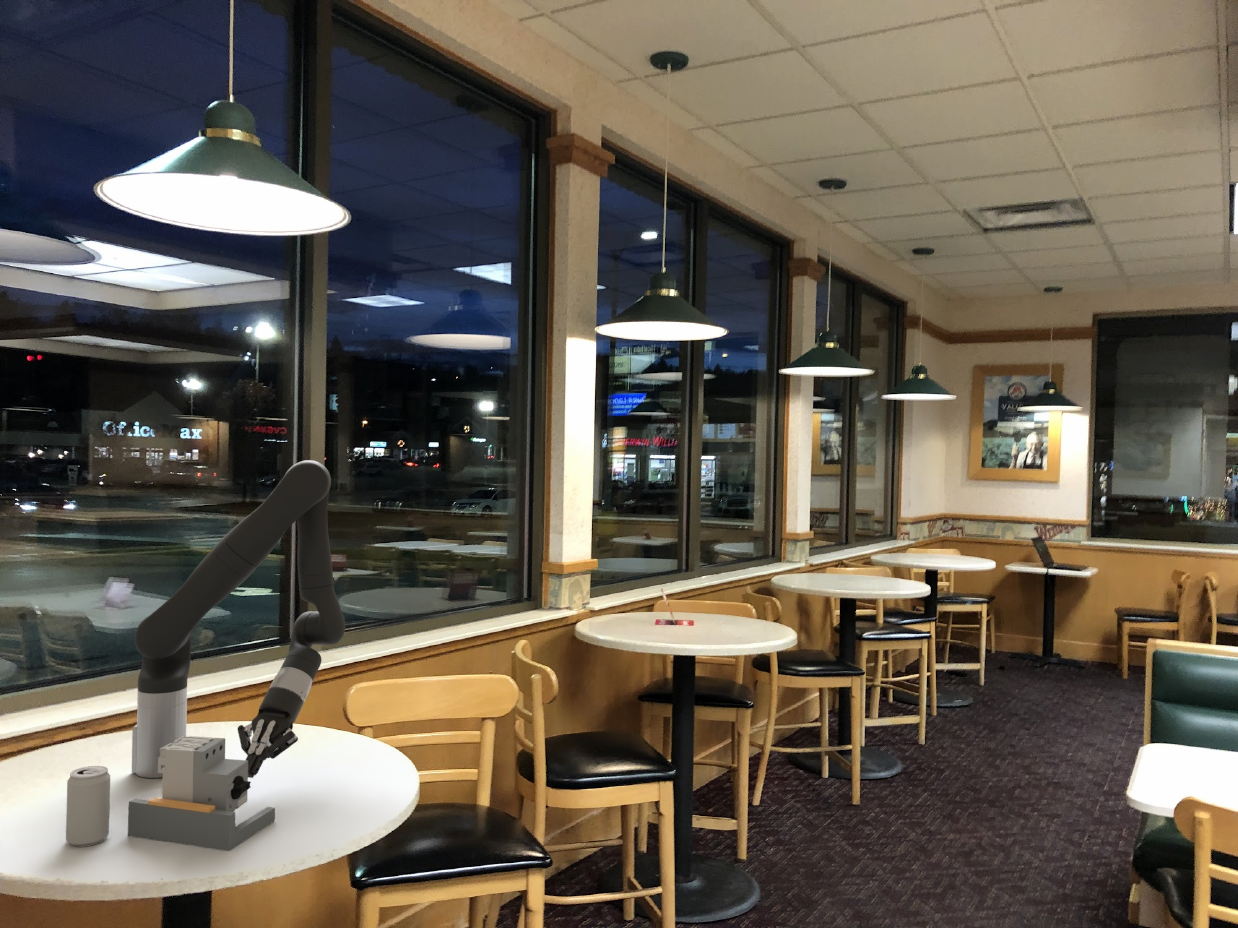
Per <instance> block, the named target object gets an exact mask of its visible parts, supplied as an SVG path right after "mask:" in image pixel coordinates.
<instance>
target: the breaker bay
mask: <svg viewBox="0 0 1238 928" xmlns="http://www.w3.org/2000/svg"><path fill="white" fill-rule="evenodd" d="M127 808H128V810H127V812H128V813H127V817H128V818H127V819H128V820H127V821H128V822H127V837H132V838H139V839H143V840H144V839H145V840H152V841H159V842H165V843H166V842H167V843H173V844H180V845H185V846H186V845H187V846H193V847H199V848H206V849H213V850H220V851H228V852H230V851H231V850H233V849H235V848H236V847H238V846H239V845H241V844H242V843H243V842H245V841H247V840H248V839H251V838H252V837H253V836H255V835H256V834H258V833H259V832H261V831H262V830H264V829H266V828H267V827H268V826H270V825H272V824H274V823H275V822H276V807H272V806H266V807H265V808H264V809H261V810H260V811H258V812H256V813H255V814H254V815H252V816H250V817H248V818H247V819H245V820H244V821H243V822H241V823H239V824H237V825H236V811H234V812H230V811H223V810H216V809H215V806H213V805H206V804H198V803H191V802H184V801H176V800H169V799H162V797H153V798H151V799H143V798H133V799H131V800H129V801H128V807H127ZM274 821H275V822H274ZM271 823H272V824H271Z"/></svg>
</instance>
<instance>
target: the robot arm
mask: <svg viewBox="0 0 1238 928" xmlns="http://www.w3.org/2000/svg"><path fill="white" fill-rule="evenodd" d="M331 486H332V477H331V474H330V471H329V470H328V469H327V467H326V466H325V465H324V464H322V463H320V462H319V461H316V460H311V459H309V460H307V459H306V460H302V461H299V462H297V463H295V464H293V465H291V467H290V468H289V469H288V470H287V471H286V472H285V474H284V476H283V477H282V478H281V480H280V481H279V482H278V484H277V485H276V486H275V488H274V489H273V490H272V491H271V493H270V494H269V495H268V496H267V497H266V499H264V501H263V502H262V503H261V504H260V505H259V506H258V507H257V508H255V510H253V511H252V512H251V513H249V515H247V516H246V517H244V518H243V519H242V520H240V522H239V523H237V524H236V525H235V526H234V527H233V528H232V529H231V530H230V531H228V532H227V534H225V535H224V536H223V537H222V539H221V540H220V541H218V543H216V544H215V545H214V547H213V548H212V549H211V550H210V551H209V552H208V553H207V555H206V556H205V557H204V558H203V559H202V560H201V561H200V562H199V564H198V565H197V566H196V568H195V569H194V570H193V571H191V574H190V575H189V576H188V578H187V579H186V580H185V581H184V583H183V584H182V585H181V586H180V588H178V590H177V591H176V592H175V593H174V594H173V595H171V597H170V598H169V599H167V600H166V601H165V602H164V603H163V604H162V605H160V606H159V607H158V608H157V609H156V610H155V611H153V612H151V614H149V615H148V616H146V617H145V618H144V619H143V620H142V621H140V623H139V624H138V627H137V628H136V631H135V634H134V644H135V647H136V649H137V652H139V654H140V655H141V656H142V661H141V662H142V663H141V666H140V667H141V668H140V671H139V674H138V677H137V707H136V708H137V710H136V711H137V716H136V724H135V725H133V727H132V734H131V736H132V738H131V740H132V741H131V773H132V774H135V775H137V776H139V777H141V778H148V779H156V778H157V779H158V778H163V773H158V758H159V757H160V751H159V750H160V748H162V747H164V746H166V745H168V744H170V743H173V741H175V740H177V739H179V738H181V737H183V736H185V737H187V721H188V720H187V717H188V715H187V714H188V713H187V710H188V677H189V673H190V669H191V668H190V667H191V651H192V631H193V630H194V629H195V627H196V626H197V625H198V624H199V623H200V621H201V620H202V619H203V618H204V617H205V616H206V615H207V613H209V611H211V610H212V609H213V608H214V607H216V606H217V605H218V604H219V603H221V602H222V601H223V600H224V599H226V598H227V597H228V596H229V595H231V594H232V593H233V592H234V591H235V590H236V589H237V588H238V587H240V586H241V585H242V584H243V583H244V582H245V581H246V580H247V579H248V578H249V577H250V576H251V575H252V574H253V573H254V572H255V571H256V570H257V569H258V567H260V565H261V564H262V563H263V562H264V561H265V560H266V558H267V557H268V556H269V555H270V553H271V552H272V551H273V550H274V548H275V547H276V545H277V544H278V542H279V541H280V540H281V538H282V537H283V535H284V534H285V533H286V531H287V530H288V529H289V528H291V526H292V525H293V524H294V523H295V522H297V574H298V575H297V576H298V588H299V597H300V599H302V600H303V601H304V602H307V603H309V604H313V605H314V606H315V607H316V610H317V611H314V610H313V611H305V612H303V613H302V614H300V615H299V616H298V617H297V619H296V620H295V622H294V624H293V627H292V633H291V636H290V637H291V638H290V643H289V646H288V648H289V649H288V653H287V655H286V657H285V659H284V661H283V663H282V664H281V667H280V669H279V670H278V671H277V673H276V675H275V676H274V678H273V680H272V682H271V683H270V685H269V688H268V689H267V692H266V693H265V695H264V697H263V699H262V701H261V703H260V705H259V708H258V713H257V715H256V716H254V718H252V720H251V723H249V724H247V725H242V724H241V725H238V726H237V732H238V733H237V734H238V739H239V742H240V747H241V750H242V751H243V752H244V753H245V754H246V757H245V760H248V779H250V778H251V779H254V777H255V776H257V775H258V773H259V771H260V768H261V767H262V765H263V764H264V763H263V762H264V761H266V760H267V759H272V760H274V759H275V758H277V757H278V756H279V755H280V754H281V755H282V753H283V752H285V751H286V750H287V749H289V748H291V746H293V745H294V744H296V743H297V742H298V741H299V738H298V736H297V735H296V733H295V732H294V731H293V728H294V723H295V722H296V721H297V718H298V717H299V714H300V712H301V710H302V708H303V705H304V703H305V701H306V699H307V697H308V695H309V693H310V691H311V687H312V684H313V683H314V682H313V681H314V680H315V678H316V675H317V673H318V672H319V669H320V667H321V664H322V656H321V654H320V653H319V652H318V651H317V650H315V649H314V648H312V646H313V645H318V646H319V645H325V646H329V645H330V646H331V645H332V646H333V645H336V644H338V643H339V642H340V641H342V639H343V637H344V635H345V632H346V620H345V616H344V614H343V610H342V608H341V605H340V602H339V600H338V599H339V598H338V597H337V594H336V590H335V586H334V584H335V583H334V576H333V575H334V572H333V563H332V555H331V554H332V553H331V547H330V537H329V528H328V527H329V526H328V525H329V524H328V523H329V521H328V507H329V496H330V495H329V494H330V489H331ZM252 734H253V735H252ZM164 767H165V765H161V769H162V768H164Z"/></svg>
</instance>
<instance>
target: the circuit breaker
mask: <svg viewBox="0 0 1238 928" xmlns="http://www.w3.org/2000/svg"><path fill="white" fill-rule="evenodd" d="M159 751H160V757H159V758H158V773H163V777H162V781H161V782H162V783H161V784H162V787H161V789H162V792H161V799H169V800H176V801H184V802H191V803H198V804H206V805H213V806H215V809H216V810H223V811H230V812H236V810H237V809H239V808H241V807H242V806H243V805H245V803H247V802H248V790H249V789H251V783H252V781H248V780H249V777H248V760H246V759H234V758H233V759H231V758H226V738H225V737H212V736H211V737H210V736H192V735H189V736H186V737H185V736H183V737H181V738H179V739H177V740H175V741H173V743H170V744H168V745H166V746H164V747H162V748H160V750H159ZM161 765H165V767H164V768H162V769H161Z"/></svg>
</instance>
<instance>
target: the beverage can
mask: <svg viewBox="0 0 1238 928" xmlns="http://www.w3.org/2000/svg"><path fill="white" fill-rule="evenodd" d="M69 776H70V777H69V778H68V779H67V780H66V783H67V784H66V813H65V814H66V815H65V816H66V819H65V820H66V822H65V823H66V825H65V841H66V843H67V844H70V845H71V846H73V847H82V848H83V847H84V848H85V847H90V845H91V846H95V845H98V844H99V843H101V842H104V841H105V838H107V837H108V836H109V834H110V805H111V804H110V802H111V801H110V798H111V775H110V773H109V768H108V767H106V766H103V765H89V766H83V767H78V768H76V769H74V770H72V771H70V773H69Z"/></svg>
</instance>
